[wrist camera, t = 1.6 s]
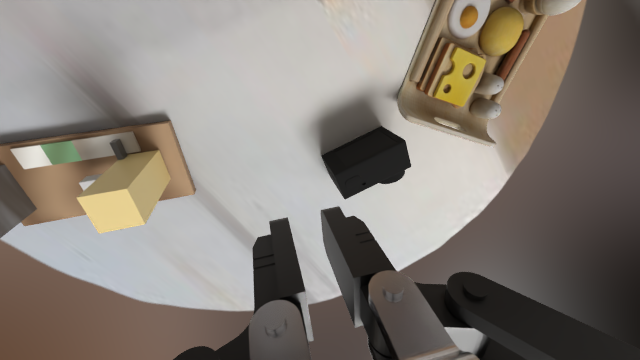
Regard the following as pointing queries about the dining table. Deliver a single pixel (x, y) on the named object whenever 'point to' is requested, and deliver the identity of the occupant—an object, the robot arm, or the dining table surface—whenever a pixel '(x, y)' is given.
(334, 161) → the digital camera
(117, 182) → the block
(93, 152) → the base
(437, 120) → the toy food set
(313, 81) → the dining table surface
